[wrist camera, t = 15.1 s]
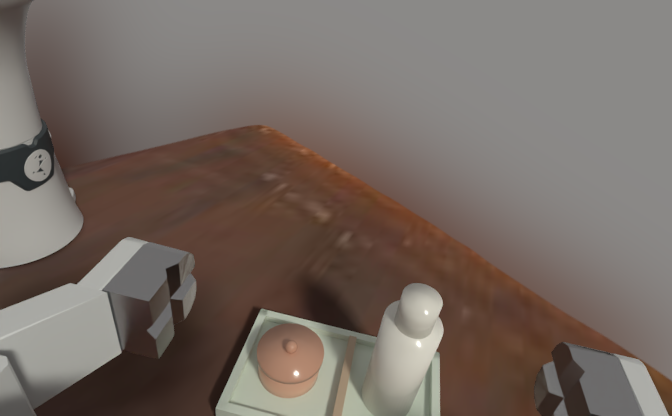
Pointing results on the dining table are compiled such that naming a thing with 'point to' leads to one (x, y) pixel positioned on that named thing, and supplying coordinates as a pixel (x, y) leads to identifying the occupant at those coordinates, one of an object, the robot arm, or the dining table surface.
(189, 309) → the robot arm
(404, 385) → the bottle
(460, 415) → the dining table surface
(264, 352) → the sugar pot
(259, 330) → the tray
